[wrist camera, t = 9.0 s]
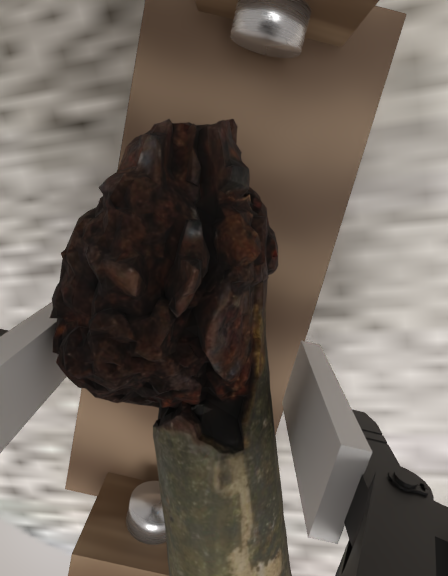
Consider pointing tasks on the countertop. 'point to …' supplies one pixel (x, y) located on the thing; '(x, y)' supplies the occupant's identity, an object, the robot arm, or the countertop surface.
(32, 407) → the robot arm
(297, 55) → the shaft stand
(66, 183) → the countertop surface
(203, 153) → the lumpy brown club
